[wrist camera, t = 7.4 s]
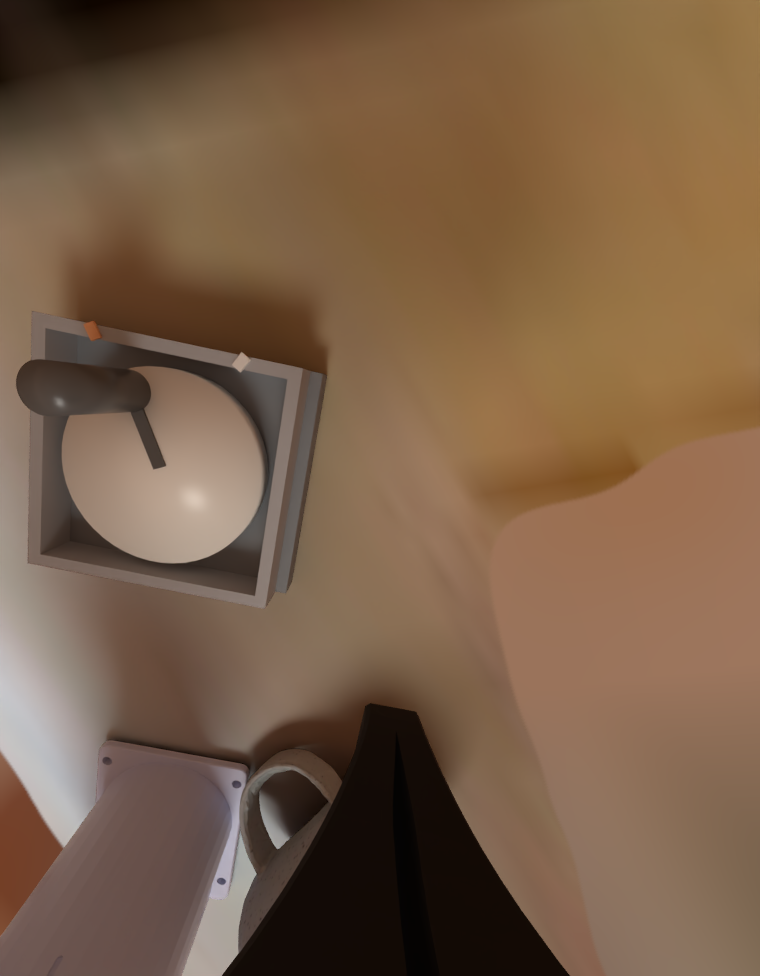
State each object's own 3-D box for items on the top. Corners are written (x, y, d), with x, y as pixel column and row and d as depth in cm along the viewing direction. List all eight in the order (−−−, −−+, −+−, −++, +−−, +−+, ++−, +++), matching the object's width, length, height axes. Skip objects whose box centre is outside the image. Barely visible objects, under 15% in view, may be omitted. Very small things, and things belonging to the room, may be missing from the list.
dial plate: (291, 581, 20) (276, 612, 17) (67, 538, 20) (13, 561, 17) (327, 372, 18) (316, 367, 15) (75, 319, 17) (15, 304, 15)
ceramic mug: (455, 808, 23) (487, 1008, 15) (367, 894, 24) (356, 1116, 17) (303, 704, 22) (256, 864, 14) (220, 801, 23) (137, 993, 16)
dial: (292, 529, 18) (257, 579, 13) (125, 573, 18) (29, 637, 13) (230, 343, 16) (162, 319, 11) (48, 398, 17) (-93, 398, 12)
